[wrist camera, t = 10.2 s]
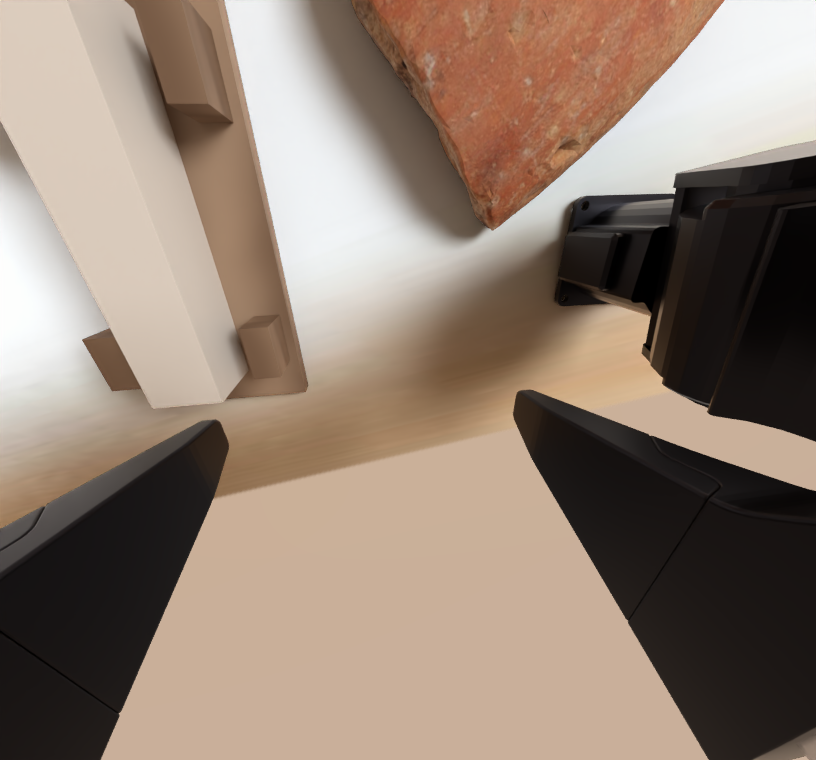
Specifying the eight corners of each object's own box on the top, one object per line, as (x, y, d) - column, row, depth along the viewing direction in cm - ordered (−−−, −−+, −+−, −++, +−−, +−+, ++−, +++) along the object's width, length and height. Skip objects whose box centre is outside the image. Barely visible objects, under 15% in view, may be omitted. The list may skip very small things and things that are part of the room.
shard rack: (213, -46, 12) (162, -138, 9) (308, 384, 21) (298, 412, 18) (-70, -60, 11) (-239, -170, 8) (160, 397, 20) (124, 428, 17)
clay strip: (133, 8, 12) (34, -83, 8) (248, 370, 19) (222, 402, 16) (35, 5, 11) (-112, -92, 8) (191, 374, 19) (152, 409, 15)
